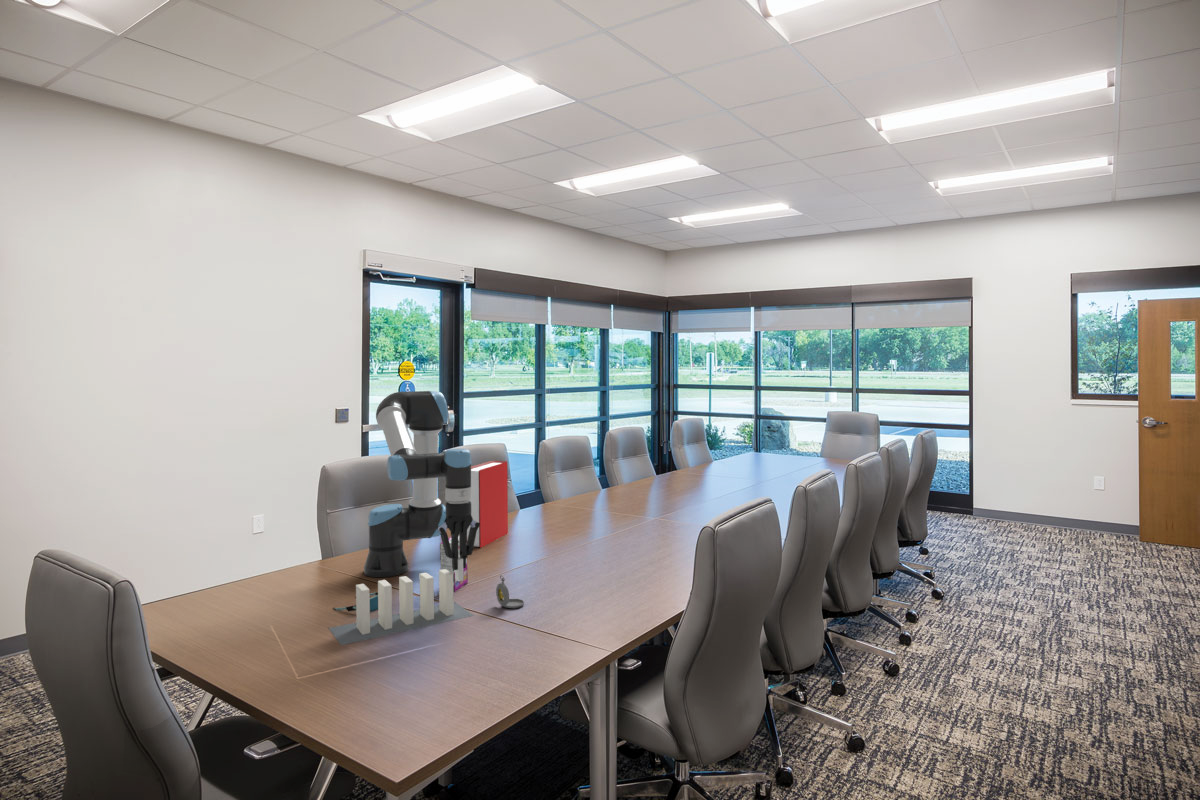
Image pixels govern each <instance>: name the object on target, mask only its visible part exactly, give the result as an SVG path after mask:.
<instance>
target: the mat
mask: <svg viewBox="0 0 1200 800" xmlns="http://www.w3.org/2000/svg"><path fill="white" fill-rule="evenodd" d="M473 616H474V614H473V613H471V612H470V611H469V610H468V609H466V608H464V607H463V606H461V605H460V604H459V603H457V602H456V601H454V615H449V616H447V615H445V614H444V613H443V612H441V611H440V610H439V604H438V605H434V619H431V620H426V619H425V618H424V617H423V616H422V615H420V608H418V609H413V624H409V625H406V624H405V623H404V622H403V621H402V620H401V619H400V612H399V613H395V614H392V628H390V629H386V630H385V629H384V628H383V627H382V626H381V625H380V624H379V621H378V617H375V618H370V633H368V634H363V635H362V633H361V632H360V631H359V630H358V629H357V621H355V622H352V623H348V624H343V625H342V624H341V625H337V626H334V627H332V626H331V627H328V630H329V631H330V632H331V634H332V635H333V637H334V638H335V639H336V640H337V642H338V643H339V644H340V646H344V645H349V644H353V643H359V642H363V641H367V640H371V639H376V638H380V637H384V636H390V635H393V634H399V633H402V632H406V631H411V630H416V629H422V628H425V627H429V626H434V625H438V624H442V623H446V622H452V621H456V620H460V619H464V618H468V617H469V618H470V617H473Z"/></svg>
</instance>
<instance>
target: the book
mask: <svg viewBox="0 0 1200 800" xmlns="http://www.w3.org/2000/svg"><path fill="white" fill-rule="evenodd" d="M508 479H509V478H508V460H490V461H486V462H483V463H479V464H478V463H477V464H475V465H473V466H472V465H471V500H469V501H470V502H471V516H472V518H473V520H474V521H476V522H478V523H480V526H479V528H478V529H477V532H476V537H475V542H474V547H479V548H480V549H482V548H484V547H486V546H488V545H490V544H492V543H493V542H495V541H497V540H499V539H501V538H502V536H503V537H504V536H506V535H508V534H509V525H508V524H509V517H508V516H509V515H508V514H509V509H508V508H509V504H508V503H509V502H508V501H509V499H508V497H509V496H508V491H509V490H508V487H509V486H508V484H509V483H508ZM469 531H470V526H469V527H468V529H467V540H468V535H469ZM507 533H508V534H507ZM505 534H506V535H505ZM500 537H501V538H500ZM498 538H499V539H498ZM496 539H497V540H496ZM494 540H495V541H494ZM491 542H492V543H491ZM489 543H490V544H489ZM487 544H488V545H487ZM485 545H486V546H485ZM483 546H484V547H483ZM481 547H482V548H481Z"/></svg>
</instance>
